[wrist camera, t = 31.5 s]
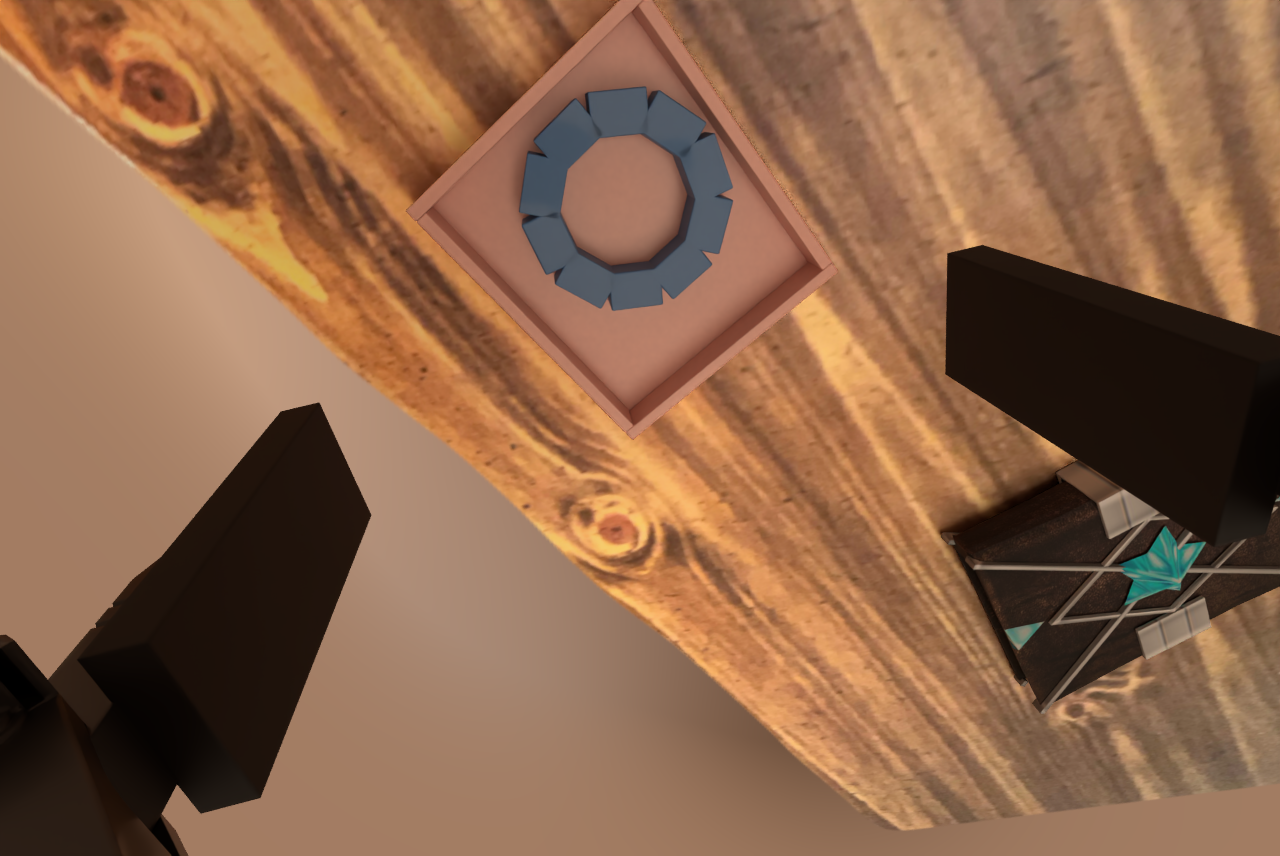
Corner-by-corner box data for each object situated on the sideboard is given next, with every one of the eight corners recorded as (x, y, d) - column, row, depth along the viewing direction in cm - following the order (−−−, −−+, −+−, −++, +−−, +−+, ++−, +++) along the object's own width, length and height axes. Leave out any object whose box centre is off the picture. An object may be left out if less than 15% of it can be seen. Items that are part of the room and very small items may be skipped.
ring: (508, 282, 32) (507, 291, 31) (540, 61, 28) (540, 58, 27) (692, 316, 34) (700, 327, 33) (745, 114, 30) (756, 115, 29)
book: (1256, 356, 41) (1345, 386, 36) (1281, 540, 48) (1357, 584, 44) (937, 531, 43) (983, 580, 39) (1007, 680, 51) (1052, 736, 46)
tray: (414, 203, 31) (405, 211, 28) (631, -10, 28) (639, -20, 26) (627, 420, 37) (632, 440, 35) (819, 260, 34) (839, 271, 32)
